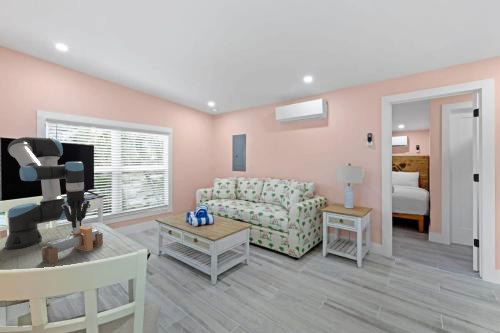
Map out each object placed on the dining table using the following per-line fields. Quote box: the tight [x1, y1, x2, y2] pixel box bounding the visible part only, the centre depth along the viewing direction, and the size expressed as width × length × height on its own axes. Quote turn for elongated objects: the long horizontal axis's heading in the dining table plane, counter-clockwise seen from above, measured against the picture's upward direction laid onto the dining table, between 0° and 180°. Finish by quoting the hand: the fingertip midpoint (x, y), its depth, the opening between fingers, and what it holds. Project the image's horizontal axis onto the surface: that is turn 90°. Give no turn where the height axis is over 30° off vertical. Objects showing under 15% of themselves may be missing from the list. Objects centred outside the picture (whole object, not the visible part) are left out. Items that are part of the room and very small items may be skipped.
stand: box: [41, 231, 104, 265], centre depth 116 cm, size 7×25×7 cm, turn 158°
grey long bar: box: [46, 228, 100, 254], centre depth 116 cm, size 5×22×5 cm, turn 158°
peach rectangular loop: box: [72, 225, 94, 252], centre depth 120 cm, size 12×3×12 cm, turn 68°
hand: (76, 232), depth 117 cm, fingers closed
